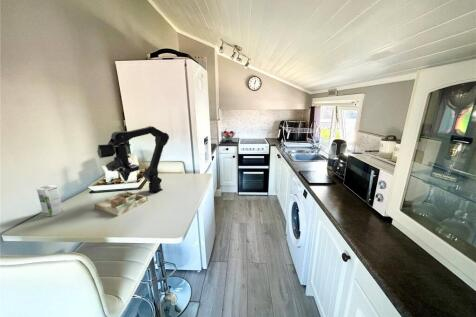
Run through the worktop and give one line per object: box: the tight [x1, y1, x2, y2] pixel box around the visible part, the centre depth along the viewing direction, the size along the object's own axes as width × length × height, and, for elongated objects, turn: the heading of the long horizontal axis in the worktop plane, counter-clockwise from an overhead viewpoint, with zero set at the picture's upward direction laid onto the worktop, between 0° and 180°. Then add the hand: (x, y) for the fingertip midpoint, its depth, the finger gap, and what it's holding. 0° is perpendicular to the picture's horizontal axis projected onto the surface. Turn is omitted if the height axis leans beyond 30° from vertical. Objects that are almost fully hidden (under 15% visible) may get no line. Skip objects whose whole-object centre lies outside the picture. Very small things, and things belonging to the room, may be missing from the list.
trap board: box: [94, 190, 149, 217], centre depth 107 cm, size 18×19×4 cm
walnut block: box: [110, 197, 126, 209], centre depth 100 cm, size 5×5×4 cm
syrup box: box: [36, 184, 64, 217], centre depth 96 cm, size 6×6×14 cm
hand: (125, 181), depth 109 cm, fingers closed
